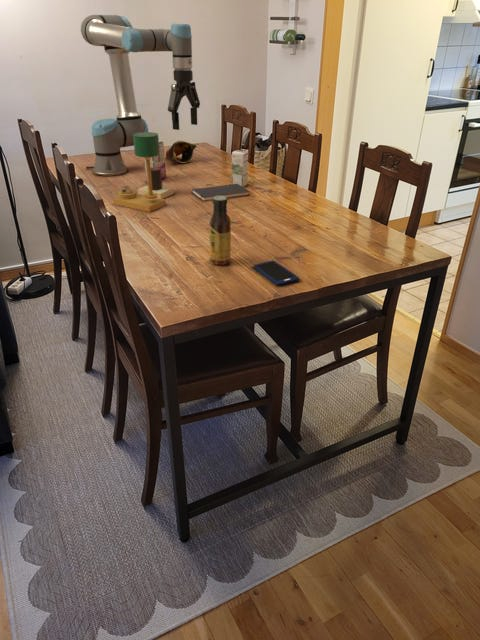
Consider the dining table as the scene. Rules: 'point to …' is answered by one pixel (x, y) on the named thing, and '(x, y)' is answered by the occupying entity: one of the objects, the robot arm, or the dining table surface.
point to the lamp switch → (126, 190)
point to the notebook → (220, 191)
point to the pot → (181, 151)
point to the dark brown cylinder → (156, 178)
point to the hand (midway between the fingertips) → (185, 127)
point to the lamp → (147, 154)
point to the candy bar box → (158, 161)
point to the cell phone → (276, 272)
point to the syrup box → (240, 167)
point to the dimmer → (157, 191)
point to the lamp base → (138, 201)
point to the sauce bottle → (220, 232)
